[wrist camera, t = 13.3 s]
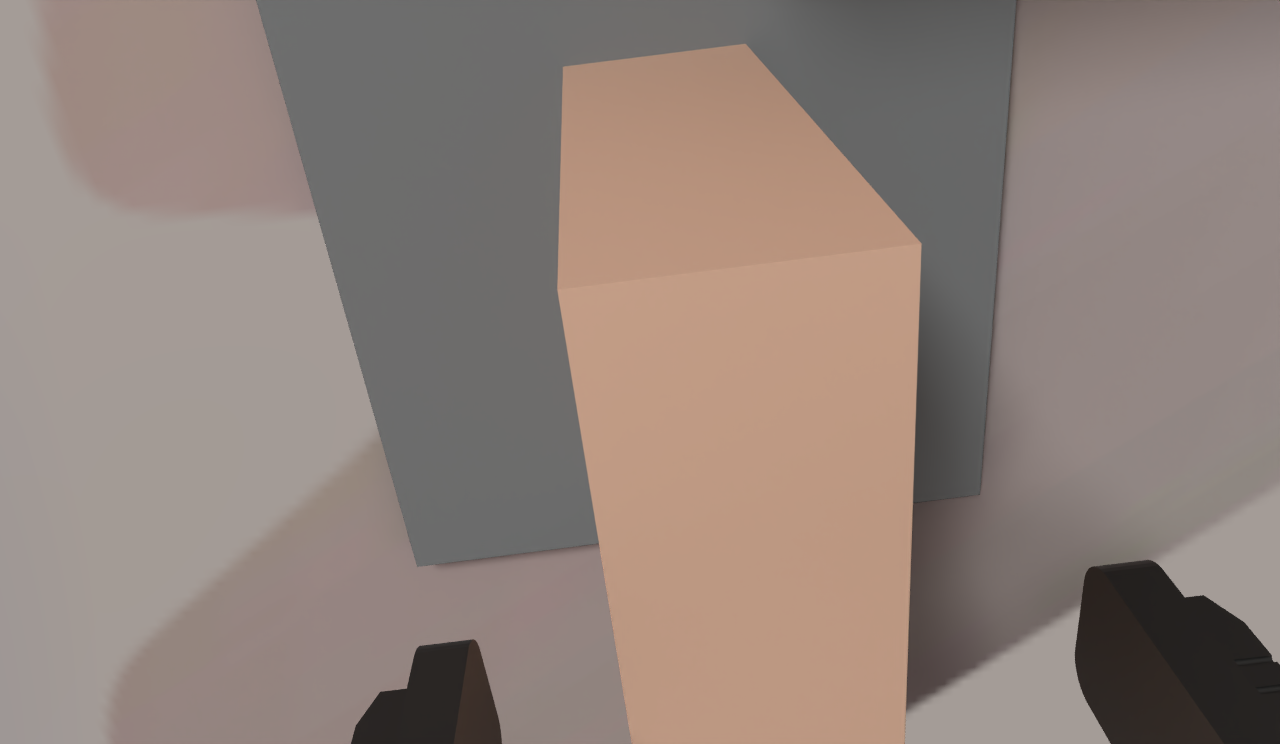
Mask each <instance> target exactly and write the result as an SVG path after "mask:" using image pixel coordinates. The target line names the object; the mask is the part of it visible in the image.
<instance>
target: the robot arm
mask: <svg viewBox="0 0 1280 744" xmlns="http://www.w3.org/2000/svg"><path fill="white" fill-rule="evenodd" d="M1075 664H1076V670H1077V675H1078V680H1079V683H1080V687H1081V689H1082V692H1083V695H1084V697H1085V699H1086V701H1087V703H1088V705H1089V706H1090V708H1091V710H1092V712H1093V713H1094V715H1095V717H1096V719H1097V720H1098V722H1099V724H1100V726H1101V727H1102V729H1103V731H1104V732H1105V734H1106V736H1107V738H1108V739H1109V741H1110V743H1111V744H1280V665H1279V664H1278V662H1273V660H1272V655H1271V654H1270V653H1269V651H1268V650H1267V649H1266V648H1265V647H1264V646H1263V644H1262V643H1261V642H1260V641H1259V640H1258V638H1257V637H1256V636H1255V635H1254V634H1253V632H1252V631H1251V630H1250V629H1249V628H1248V626H1247V625H1246V624H1245V623H1244V622H1243V621H1241V620H1240V619H1238V618H1237V617H1235V616H1234V615H1232V614H1231V613H1229V612H1228V611H1226V610H1225V609H1223V608H1222V607H1220V606H1219V605H1217V604H1216V603H1214V602H1213V601H1211V600H1210V599H1208V598H1207V597H1205V596H1204V595H1203V596H1194V597H1186V598H1185V597H1184V596H1183V595H1182V594H1181V592H1180V591H1179V590H1178V588H1177V587H1176V586H1175V585H1174V583H1173V582H1172V581H1171V579H1170V578H1169V577H1168V576H1167V575H1166V573H1165V572H1164V571H1163V569H1162V568H1161V567H1160V566H1159V565H1158V564H1157V563H1155V562H1153V561H1151V560H1144V561H1136V562H1128V563H1119V564H1111V565H1103V566H1094V567H1091V568H1089V569H1088V571H1087V572H1086V575H1085V579H1084V586H1083V594H1082V602H1081V610H1080V618H1079V625H1078V633H1077V640H1076V648H1075ZM351 744H502V739H501V730H500V724H499V719H498V715H497V711H496V707H495V704H494V700H493V696H492V693H491V689H490V685H489V682H488V678H487V674H486V670H485V667H484V663H483V659H482V656H481V652H480V649H479V646H478V643H477V642H476V641H475V640H465V641H457V642H449V643H441V644H432V645H424V646H419V647H418V648H417V650H416V652H415V655H414V659H413V664H412V668H411V673H410V677H409V682H408V686H407V689H401V690H392V691H384V692H380V693H379V694H378V696H377V697H376V699H375V700H374V701H373V703H372V704H371V706H370V707H369V708H368V710H367V711H366V712H365V714H364V715H363V717H362V718H361V719H360V721H359V722H358V724H357V725H356V727H355V731H354V735H353V738H352V742H351Z"/></svg>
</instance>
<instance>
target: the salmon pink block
mask: <svg viewBox="0 0 1280 744" xmlns="http://www.w3.org/2000/svg"><path fill="white" fill-rule="evenodd" d="M920 274H921V242H920V241H919V240H918V239H917V238H916V237H915V236H914V234H913V233H912V232H911V231H910V230H909V229H908V228H907V226H906V225H905V224H904V223H903V222H902V221H901V220H900V219H899V217H898V216H897V215H896V214H895V213H894V212H893V211H892V209H891V208H890V207H889V206H888V205H887V204H886V203H885V201H884V200H883V199H882V198H881V197H880V196H879V195H878V194H877V192H876V191H875V190H874V189H873V188H872V187H871V186H870V184H869V183H868V182H867V181H866V180H865V179H864V178H863V177H862V175H861V174H860V173H859V172H858V171H857V170H856V169H855V167H854V166H853V165H852V164H851V163H850V162H849V161H848V159H847V158H846V157H845V156H844V155H843V154H842V153H841V152H840V150H839V149H838V148H837V147H836V146H835V145H834V144H833V142H832V141H831V140H830V139H829V138H828V137H827V136H826V134H825V133H824V132H823V131H822V130H821V129H820V128H819V127H818V125H817V124H816V123H815V122H814V121H813V120H812V119H811V117H810V116H809V115H808V114H807V113H806V112H805V111H804V109H803V108H802V107H801V106H800V105H799V104H798V103H797V102H796V100H795V99H794V98H793V97H792V96H791V95H790V94H789V92H788V91H787V90H786V89H785V88H784V87H783V86H782V84H781V83H780V82H779V81H778V80H777V79H776V78H775V77H774V75H773V74H772V73H771V72H770V71H769V70H768V69H767V67H766V66H765V65H764V64H763V63H762V62H761V61H760V60H759V58H758V57H757V56H756V55H755V54H754V53H753V52H752V50H751V49H750V48H749V47H748V46H747V45H746V44H740V45H732V46H724V47H716V48H708V49H700V50H692V51H684V52H676V53H668V54H660V55H652V56H644V57H636V58H628V59H620V60H612V61H604V62H596V63H588V64H581V65H573V66H565V67H563V85H562V125H561V164H560V204H559V243H558V283H557V291H558V297H559V303H560V309H561V315H562V321H563V327H564V333H565V339H566V346H567V352H568V358H569V364H570V370H571V376H572V382H573V388H574V394H575V400H576V406H577V413H578V419H579V425H580V431H581V437H582V443H583V449H584V455H585V461H586V467H587V473H588V480H589V486H590V492H591V498H592V504H593V510H594V516H595V522H596V528H597V534H598V540H599V546H600V553H601V559H602V565H603V571H604V577H605V583H606V589H607V595H608V601H609V607H610V613H611V620H612V626H613V632H614V638H615V644H616V650H617V656H618V662H619V668H620V674H621V680H622V687H623V693H624V699H625V705H626V711H627V717H628V723H629V729H630V735H631V741H632V744H905V720H906V690H907V660H908V631H909V601H910V571H911V542H912V512H913V482H914V452H915V423H916V393H917V363H918V333H919V304H920Z"/></svg>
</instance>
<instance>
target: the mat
mask: <svg viewBox="0 0 1280 744" xmlns="http://www.w3.org/2000/svg"><path fill="white" fill-rule="evenodd" d="M256 1H257V5H258V8H259V12H260V15H261V19H262V22H263V26H264V29H265V33H266V36H267V40H268V44H269V47H270V51H271V54H272V58H273V61H274V65H275V68H276V72H277V75H278V79H279V82H280V86H281V89H282V93H283V96H284V100H285V103H286V107H287V110H288V114H289V117H290V121H291V124H292V128H293V131H294V135H295V138H296V142H297V145H298V149H299V153H300V156H301V160H302V163H303V167H304V170H305V174H306V177H307V181H308V184H309V188H310V191H311V195H312V198H313V202H314V205H315V209H316V212H317V216H318V219H319V223H320V226H321V230H322V233H323V237H324V240H325V244H326V247H327V251H328V255H329V258H330V261H331V265H332V269H333V272H334V276H335V279H336V283H337V286H338V290H339V293H340V296H341V300H342V304H343V307H344V311H345V314H346V318H347V321H348V324H349V328H350V332H351V335H352V339H353V342H354V346H355V349H356V353H357V356H358V360H359V363H360V367H361V371H362V374H363V378H364V381H365V384H366V388H367V392H368V395H369V399H370V402H371V405H372V409H373V413H374V416H375V420H376V423H377V427H378V430H379V434H380V437H381V441H382V444H383V448H384V451H385V455H386V458H387V462H388V465H389V469H390V473H391V476H392V480H393V483H394V487H395V490H396V494H397V497H398V501H399V504H400V508H401V511H402V515H403V518H404V522H405V525H406V529H407V532H408V536H409V539H410V543H411V546H412V550H413V553H414V557H415V560H416V564H417V567H419V566H427V565H435V564H442V563H450V562H458V561H466V560H474V559H481V558H489V557H497V556H505V555H513V554H520V553H528V552H536V551H544V550H552V549H559V548H567V547H575V546H583V545H591V544H598V543H599V540H598V534H597V528H596V522H595V516H594V510H593V504H592V498H591V492H590V486H589V480H588V473H587V467H586V461H585V455H584V449H583V443H582V437H581V431H580V425H579V419H578V413H577V406H576V400H575V394H574V388H573V382H572V376H571V370H570V364H569V358H568V352H567V346H566V339H565V333H564V327H563V321H562V315H561V309H560V303H559V297H558V291H557V283H558V243H559V204H560V164H561V125H562V85H563V67H565V66H573V65H581V64H588V63H596V62H604V61H612V60H620V59H628V58H636V57H644V56H652V55H660V54H668V53H676V52H684V51H692V50H700V49H708V48H716V47H724V46H732V45H740V44H746V45H747V46H748V47H749V48H750V49H751V50H752V52H753V53H754V54H755V55H756V56H757V57H758V58H759V60H760V61H761V62H762V63H763V64H764V65H765V66H766V67H767V69H768V70H769V71H770V72H771V73H772V74H773V75H774V77H775V78H776V79H777V80H778V81H779V82H780V83H781V84H782V86H783V87H784V88H785V89H786V90H787V91H788V92H789V94H790V95H791V96H792V97H793V98H794V99H795V100H796V102H797V103H798V104H799V105H800V106H801V107H802V108H803V109H804V111H805V112H806V113H807V114H808V115H809V116H810V117H811V119H812V120H813V121H814V122H815V123H816V124H817V125H818V127H819V128H820V129H821V130H822V131H823V132H824V133H825V134H826V136H827V137H828V138H829V139H830V140H831V141H832V142H833V144H834V145H835V146H836V147H837V148H838V149H839V150H840V152H841V153H842V154H843V155H844V156H845V157H846V158H847V159H848V161H849V162H850V163H851V164H852V165H853V166H854V167H855V169H856V170H857V171H858V172H859V173H860V174H861V175H862V177H863V178H864V179H865V180H866V181H867V182H868V183H869V184H870V186H871V187H872V188H873V189H874V190H875V191H876V192H877V194H878V195H879V196H880V197H881V198H882V199H883V200H884V201H885V203H886V204H887V205H888V206H889V207H890V208H891V209H892V211H893V212H894V213H895V214H896V215H897V216H898V217H899V219H900V220H901V221H902V222H903V223H904V224H905V225H906V226H907V228H908V229H909V230H910V231H911V232H912V233H913V234H914V236H915V237H916V238H917V239H918V240H919V241H920V242H921V274H920V304H919V333H918V363H917V393H916V423H915V452H914V482H913V503H918V502H926V501H933V500H941V499H949V498H957V497H965V496H972V495H980V486H981V473H982V459H983V446H984V432H985V419H986V405H987V392H988V378H989V364H990V351H991V337H992V324H993V310H994V297H995V283H996V270H997V256H998V243H999V229H1000V216H1001V202H1002V188H1003V175H1004V161H1005V148H1006V134H1007V121H1008V107H1009V94H1010V80H1011V67H1012V53H1013V40H1014V26H1015V13H1016V0H256Z"/></svg>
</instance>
